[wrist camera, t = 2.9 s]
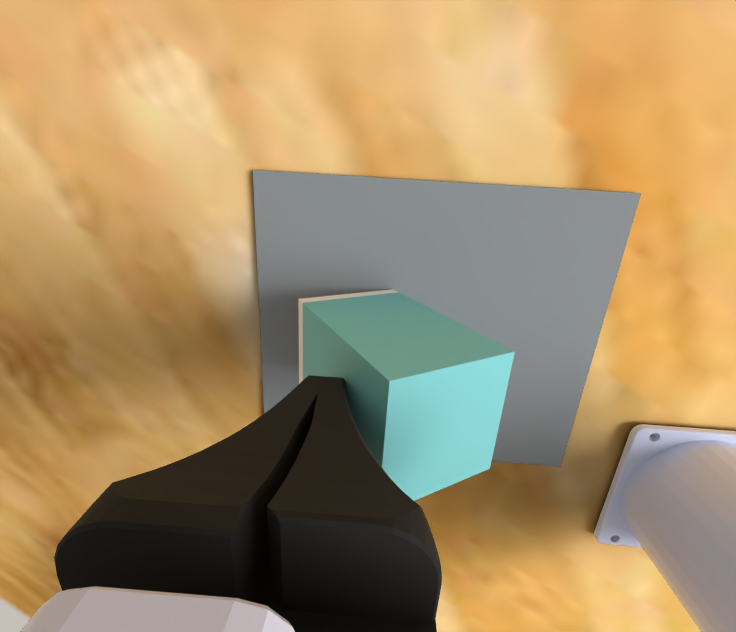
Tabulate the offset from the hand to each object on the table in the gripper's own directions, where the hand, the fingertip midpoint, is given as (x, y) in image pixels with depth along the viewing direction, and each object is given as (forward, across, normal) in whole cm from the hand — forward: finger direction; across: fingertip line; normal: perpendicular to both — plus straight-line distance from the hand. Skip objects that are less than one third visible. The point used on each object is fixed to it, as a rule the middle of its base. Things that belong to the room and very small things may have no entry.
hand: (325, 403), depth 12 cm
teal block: (+5, 0, 0) cm, 5 cm away
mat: (+6, -4, 0) cm, 7 cm away
